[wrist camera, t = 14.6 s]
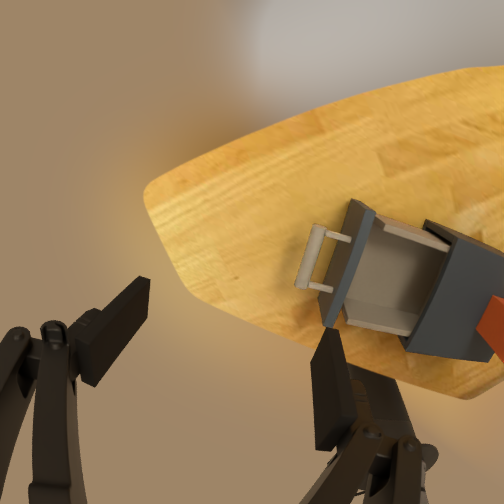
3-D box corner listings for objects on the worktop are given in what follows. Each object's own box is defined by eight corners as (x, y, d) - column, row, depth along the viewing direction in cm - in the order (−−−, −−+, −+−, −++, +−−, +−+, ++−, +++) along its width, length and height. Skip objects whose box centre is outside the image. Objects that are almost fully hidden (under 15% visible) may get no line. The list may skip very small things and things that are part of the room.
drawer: (285, 289, 38) (285, 317, 32) (316, 187, 34) (324, 195, 27) (414, 320, 38) (431, 347, 31) (451, 234, 33) (477, 250, 27)
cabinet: (386, 315, 39) (405, 351, 31) (425, 218, 34) (458, 237, 26) (464, 332, 39) (488, 363, 30) (501, 251, 34) (534, 272, 25)
